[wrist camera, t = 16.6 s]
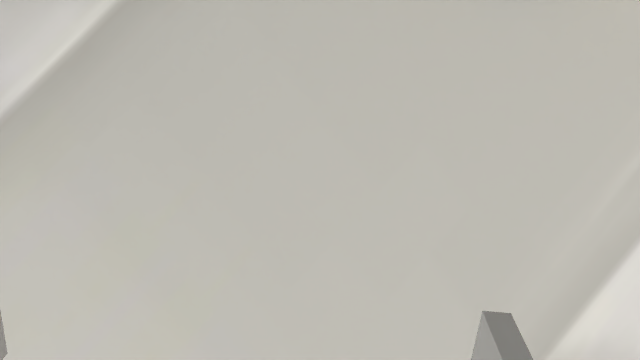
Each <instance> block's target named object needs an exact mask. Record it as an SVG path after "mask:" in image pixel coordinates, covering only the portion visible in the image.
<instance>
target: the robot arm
mask: <svg viewBox="0 0 640 360" xmlns="http://www.w3.org/2000/svg"><path fill="white" fill-rule="evenodd" d="M6 354H7V348H6V342H5V336H4V329H3V323H2V317H1V311H0V360H2V359H3V358H4V357H5V356H6ZM471 360H533V358H532V356H531V354H530V352H529V350H528V348H527V346H526V344H525V342H524V340H523V338H522V336H521V334H520V331H519V329H518V327H517V325H516V323H515V321H514V319H513V317H512V315H511V313H501V312H489V311H482V315H481V319H480V323H479V328H478V332H477V336H476V341H475V345H474V349H473V354H472V358H471Z"/></svg>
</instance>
